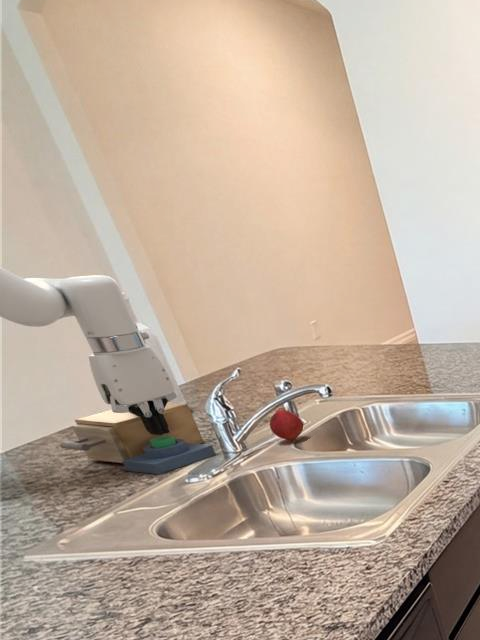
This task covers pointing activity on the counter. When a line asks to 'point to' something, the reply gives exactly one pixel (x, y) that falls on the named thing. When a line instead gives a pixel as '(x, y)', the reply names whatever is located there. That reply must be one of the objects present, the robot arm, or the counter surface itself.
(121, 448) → the drawer
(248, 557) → the counter surface
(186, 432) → the cabinet
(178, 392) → the bottle
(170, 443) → the button
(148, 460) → the block
